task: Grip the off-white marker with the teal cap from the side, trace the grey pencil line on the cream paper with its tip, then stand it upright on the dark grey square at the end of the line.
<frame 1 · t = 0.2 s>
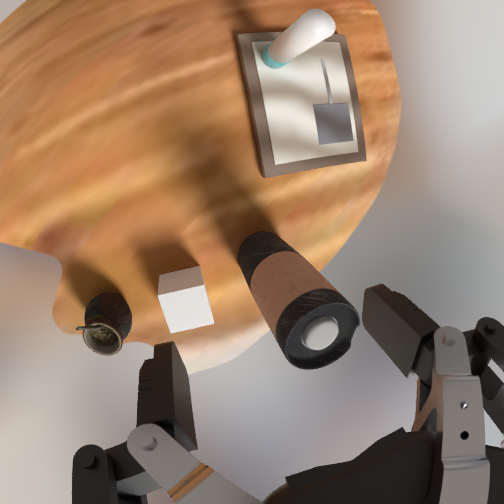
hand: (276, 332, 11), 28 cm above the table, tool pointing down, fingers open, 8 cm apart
white cube: (184, 287, 41), on the table
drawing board: (305, 98, 35), on the table
travel mug: (261, 254, 42), on the table
marker: (273, 57, 30), point 2 cm above the table, touching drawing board
mate gourd: (111, 306, 39), on the table
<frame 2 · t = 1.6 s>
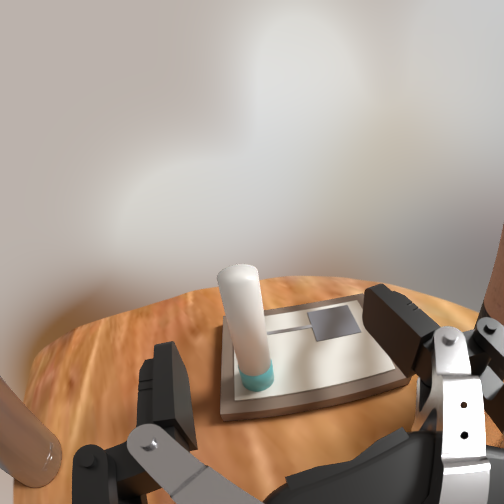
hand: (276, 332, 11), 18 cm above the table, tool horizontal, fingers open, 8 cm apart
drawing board: (307, 354, 32), on the table
travel mug: (484, 366, 23), on the table
marker: (258, 379, 28), point 2 cm above the table, touching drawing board
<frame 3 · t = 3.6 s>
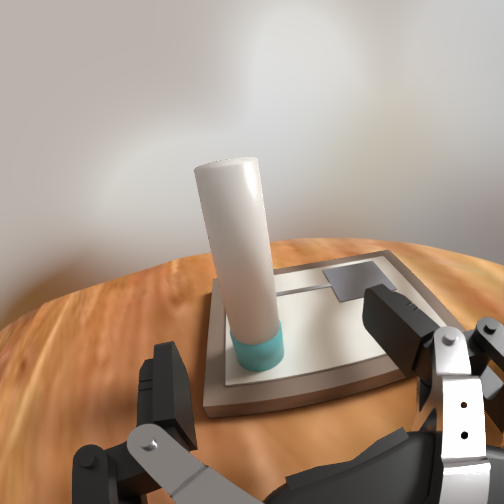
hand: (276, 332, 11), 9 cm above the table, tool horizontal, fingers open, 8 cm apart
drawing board: (327, 322, 24), on the table
marker: (260, 353, 19), point 2 cm above the table, touching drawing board
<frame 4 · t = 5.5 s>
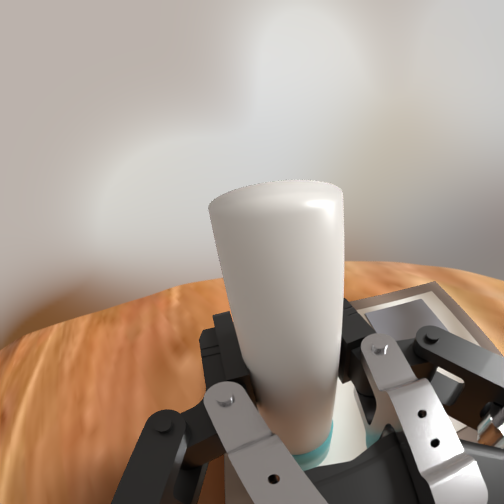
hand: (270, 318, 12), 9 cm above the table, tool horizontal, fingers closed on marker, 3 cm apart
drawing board: (374, 385, 17), on the table
marker: (297, 445, 12), point 2 cm above the table, touching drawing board, gripper
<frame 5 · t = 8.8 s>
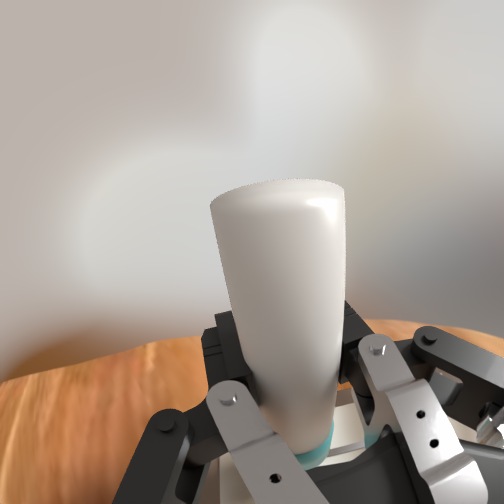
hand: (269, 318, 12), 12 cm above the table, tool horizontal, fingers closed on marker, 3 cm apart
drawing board: (361, 491, 12), on the table
marker: (298, 445, 12), point 4 cm above the table, touching gripper
when the fingers open (9 cm above the table, at t = 12.1 s): marker stays where it is, resting on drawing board.
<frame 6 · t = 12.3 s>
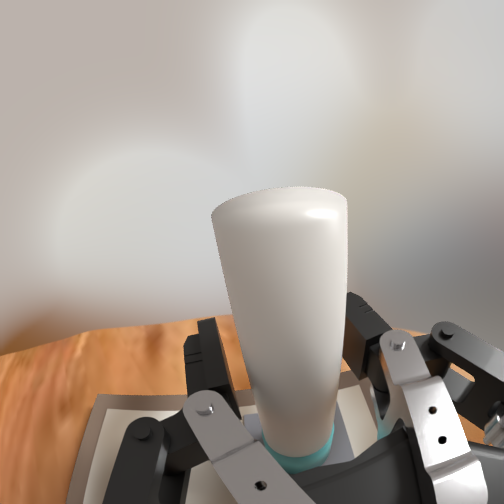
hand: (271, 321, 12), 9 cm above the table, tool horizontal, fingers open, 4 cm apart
marker: (298, 447, 12), point 2 cm above the table, touching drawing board
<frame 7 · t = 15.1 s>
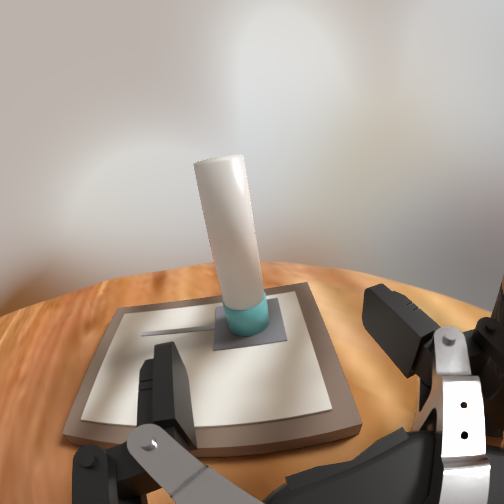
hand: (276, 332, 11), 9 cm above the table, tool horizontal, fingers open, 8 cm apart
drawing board: (203, 368, 21), on the table
travel mug: (497, 398, 12), on the table
marker: (248, 322, 23), point 2 cm above the table, touching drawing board
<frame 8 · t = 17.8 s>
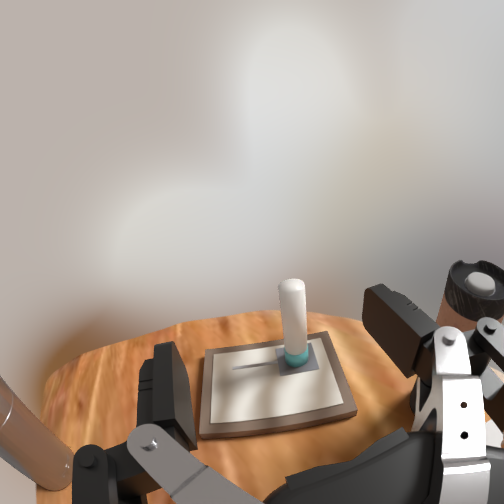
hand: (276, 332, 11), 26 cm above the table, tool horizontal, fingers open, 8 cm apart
white cube: (476, 460, 18), on the table
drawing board: (273, 385, 38), on the table
travel mug: (431, 401, 29), on the table
marker: (296, 358, 39), point 2 cm above the table, touching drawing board
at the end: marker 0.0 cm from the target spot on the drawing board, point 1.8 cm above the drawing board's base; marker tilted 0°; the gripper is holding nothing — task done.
